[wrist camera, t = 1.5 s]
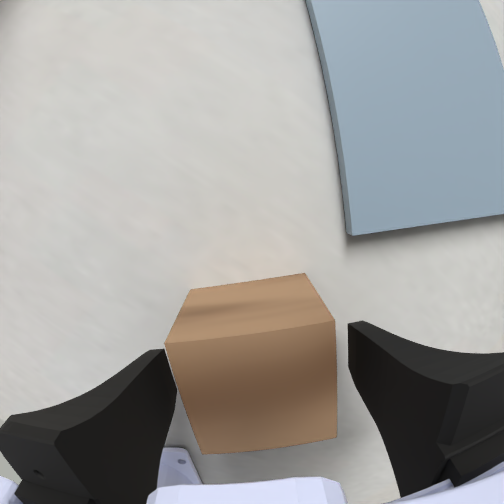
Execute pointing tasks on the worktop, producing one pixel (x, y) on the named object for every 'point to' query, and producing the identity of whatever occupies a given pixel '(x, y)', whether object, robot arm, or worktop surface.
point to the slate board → (413, 110)
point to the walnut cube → (256, 365)
